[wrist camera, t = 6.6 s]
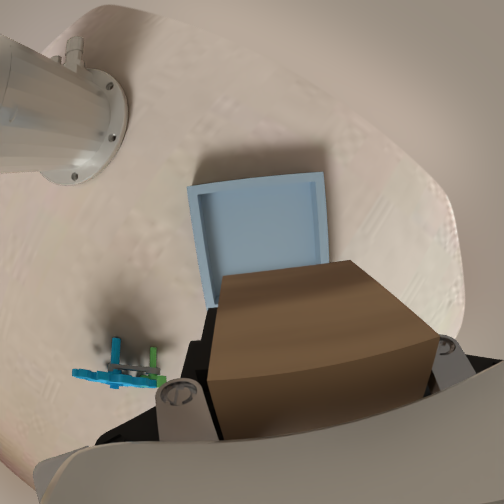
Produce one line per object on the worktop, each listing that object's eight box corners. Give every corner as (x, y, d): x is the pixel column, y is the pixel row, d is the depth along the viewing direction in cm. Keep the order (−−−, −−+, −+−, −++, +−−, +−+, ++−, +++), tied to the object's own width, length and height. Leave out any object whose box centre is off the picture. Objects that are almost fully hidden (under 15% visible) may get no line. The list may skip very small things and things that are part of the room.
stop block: (222, 275, 11) (206, 380, 5) (350, 260, 11) (440, 335, 5) (239, 378, 12) (242, 491, 6) (346, 361, 12) (397, 458, 6)
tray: (191, 185, 25) (186, 186, 23) (315, 172, 26) (323, 171, 23) (209, 302, 28) (207, 313, 26) (322, 287, 29) (329, 297, 26)
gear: (89, 385, 29) (57, 377, 21) (91, 343, 32) (62, 322, 24) (170, 394, 31) (162, 392, 23) (170, 350, 34) (162, 332, 26)
